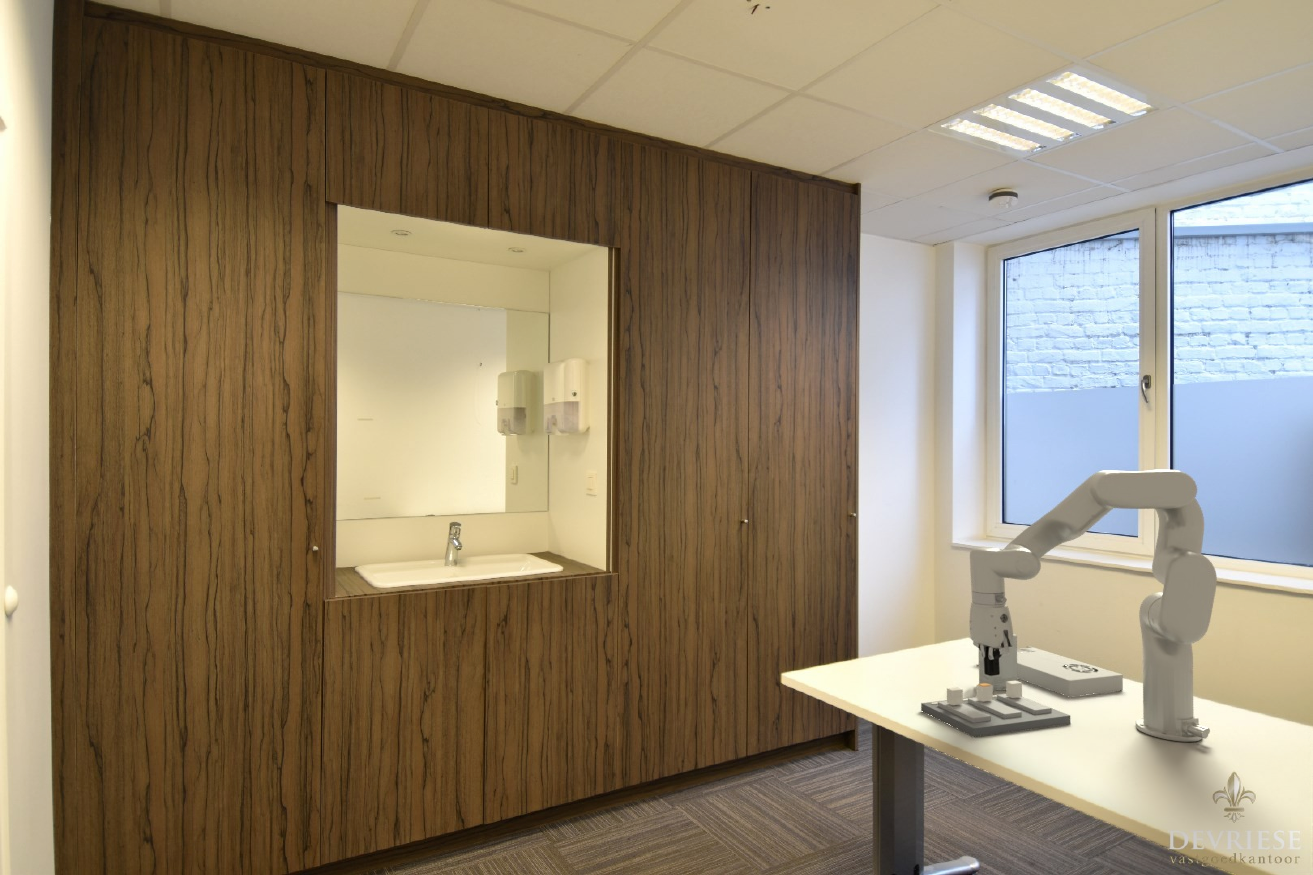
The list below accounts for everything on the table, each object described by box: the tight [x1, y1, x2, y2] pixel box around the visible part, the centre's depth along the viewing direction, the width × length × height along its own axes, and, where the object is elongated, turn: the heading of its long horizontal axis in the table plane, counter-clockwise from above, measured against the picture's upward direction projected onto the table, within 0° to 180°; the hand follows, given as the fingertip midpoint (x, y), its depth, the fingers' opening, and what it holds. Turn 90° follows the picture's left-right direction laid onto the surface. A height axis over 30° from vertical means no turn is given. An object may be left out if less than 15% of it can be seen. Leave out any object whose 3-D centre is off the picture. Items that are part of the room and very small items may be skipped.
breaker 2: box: [1005, 680, 1023, 698], centre depth 186 cm, size 2×3×4 cm, turn 109°
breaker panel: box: [920, 692, 1071, 738], centre depth 180 cm, size 18×28×3 cm, turn 109°
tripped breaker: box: [976, 683, 994, 702], centre depth 183 cm, size 2×3×4 cm, turn 109°
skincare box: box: [978, 633, 1018, 692], centre depth 204 cm, size 8×6×15 cm
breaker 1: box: [946, 686, 964, 705], centre depth 180 cm, size 2×3×4 cm, turn 109°
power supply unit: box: [1017, 645, 1124, 698], centre depth 215 cm, size 19×33×5 cm, turn 18°
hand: (992, 674), depth 182 cm, fingers closed
